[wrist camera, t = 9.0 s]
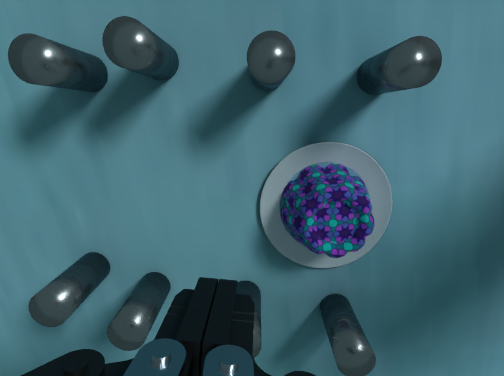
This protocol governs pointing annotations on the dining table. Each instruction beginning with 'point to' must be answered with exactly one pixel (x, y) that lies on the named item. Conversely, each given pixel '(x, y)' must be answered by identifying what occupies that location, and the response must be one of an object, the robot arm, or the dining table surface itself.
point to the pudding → (326, 205)
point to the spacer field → (164, 67)
